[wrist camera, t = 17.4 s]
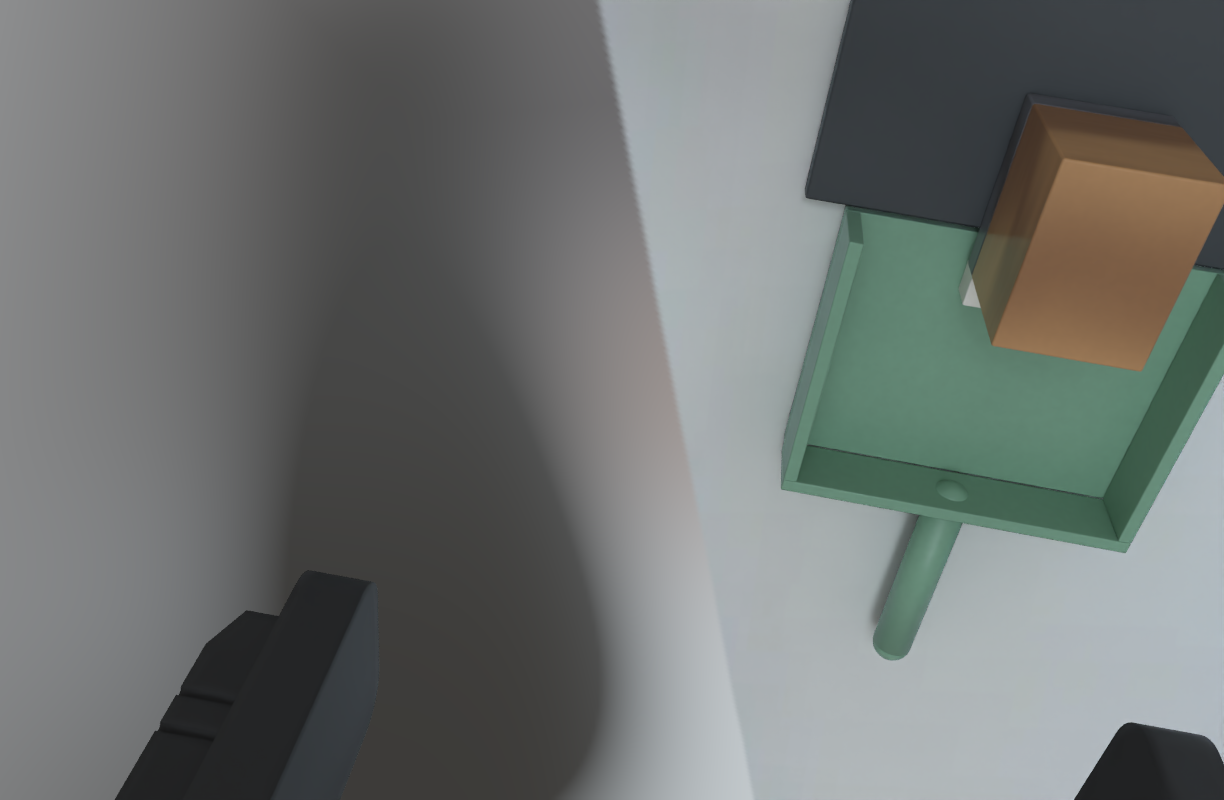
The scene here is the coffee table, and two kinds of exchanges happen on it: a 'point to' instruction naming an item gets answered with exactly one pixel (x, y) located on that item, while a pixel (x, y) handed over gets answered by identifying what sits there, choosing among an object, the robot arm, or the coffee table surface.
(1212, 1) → the slate
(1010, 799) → the coffee table surface
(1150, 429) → the dustpan
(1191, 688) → the coffee table surface
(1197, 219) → the eraser
